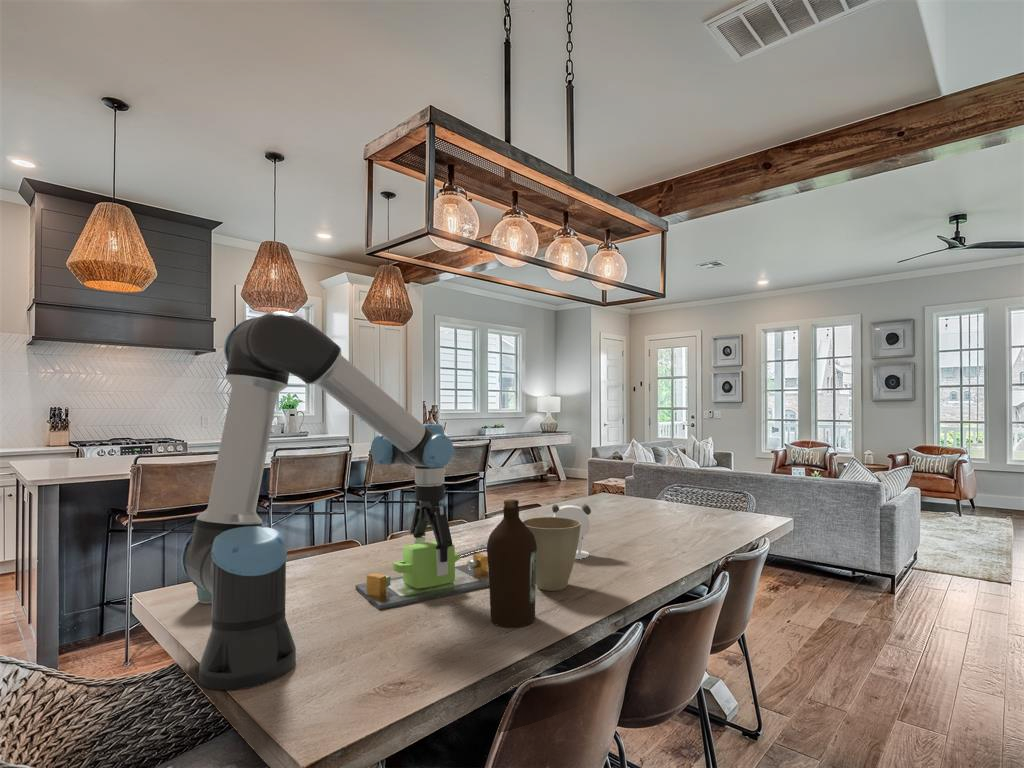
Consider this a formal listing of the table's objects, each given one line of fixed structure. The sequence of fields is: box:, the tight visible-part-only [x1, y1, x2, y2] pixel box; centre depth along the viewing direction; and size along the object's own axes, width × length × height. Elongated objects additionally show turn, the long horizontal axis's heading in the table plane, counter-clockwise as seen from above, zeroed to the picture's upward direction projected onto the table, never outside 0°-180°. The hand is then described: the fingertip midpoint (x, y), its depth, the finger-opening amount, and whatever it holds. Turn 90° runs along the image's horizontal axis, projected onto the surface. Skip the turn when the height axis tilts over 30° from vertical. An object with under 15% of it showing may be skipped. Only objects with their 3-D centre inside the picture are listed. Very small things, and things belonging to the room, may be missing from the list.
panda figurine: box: [551, 504, 592, 560], centre depth 169 cm, size 12×11×15 cm
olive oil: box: [486, 498, 537, 629], centre depth 117 cm, size 11×11×25 cm
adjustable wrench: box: [455, 541, 488, 556], centre depth 172 cm, size 25×6×2 cm, turn 135°
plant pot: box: [521, 516, 581, 592], centre depth 139 cm, size 15×15×16 cm
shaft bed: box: [355, 552, 489, 610], centre depth 140 cm, size 18×33×6 cm, turn 123°
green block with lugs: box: [392, 541, 461, 588], centre depth 141 cm, size 18×10×10 cm, turn 125°
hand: (430, 568), depth 140 cm, fingers open, 13 cm apart
